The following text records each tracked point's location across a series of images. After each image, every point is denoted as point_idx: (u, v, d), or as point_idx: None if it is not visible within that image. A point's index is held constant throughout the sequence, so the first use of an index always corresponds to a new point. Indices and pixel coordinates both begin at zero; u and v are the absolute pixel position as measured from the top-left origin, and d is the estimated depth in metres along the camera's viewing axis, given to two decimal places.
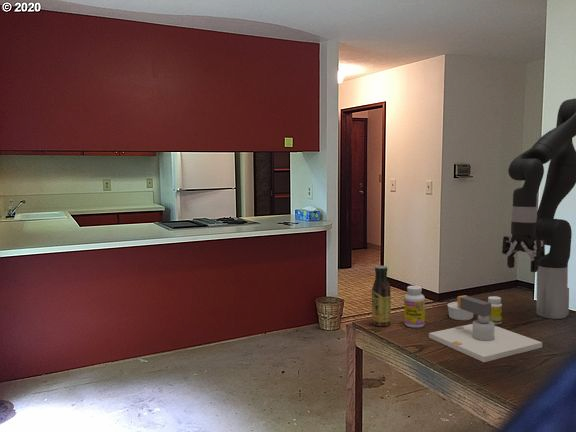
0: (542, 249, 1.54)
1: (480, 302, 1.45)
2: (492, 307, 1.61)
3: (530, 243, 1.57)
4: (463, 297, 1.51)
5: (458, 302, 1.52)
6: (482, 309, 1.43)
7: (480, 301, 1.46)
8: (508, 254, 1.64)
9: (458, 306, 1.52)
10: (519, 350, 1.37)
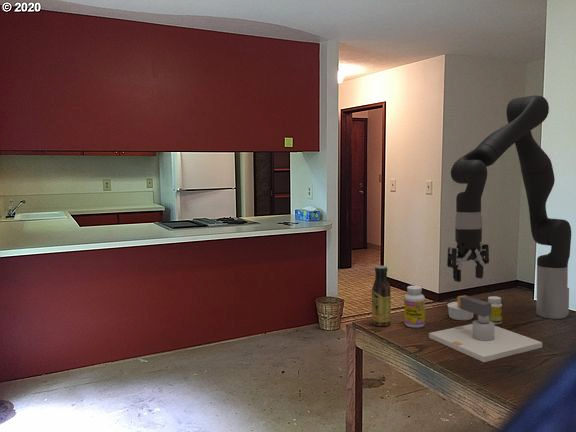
0: None
1: (480, 302, 1.45)
2: (492, 307, 1.61)
3: (479, 249, 1.49)
4: (463, 297, 1.51)
5: (458, 302, 1.52)
6: (482, 309, 1.43)
7: (480, 301, 1.46)
8: (459, 267, 1.46)
9: (458, 306, 1.52)
10: (519, 350, 1.37)
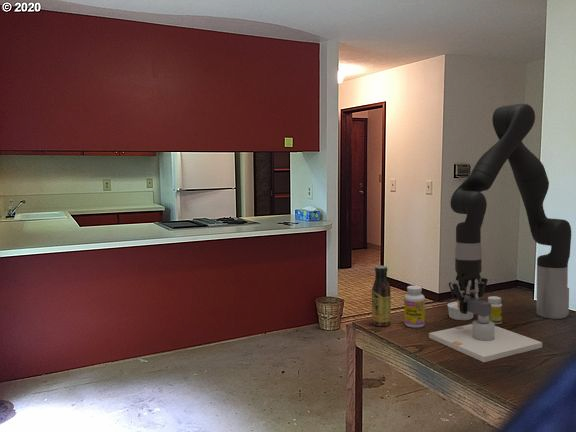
0: None
1: (480, 302, 1.45)
2: (492, 307, 1.61)
3: (479, 279, 1.50)
4: None
5: (458, 302, 1.52)
6: (482, 309, 1.43)
7: (480, 301, 1.46)
8: (466, 299, 1.48)
9: (458, 306, 1.52)
10: (519, 350, 1.37)
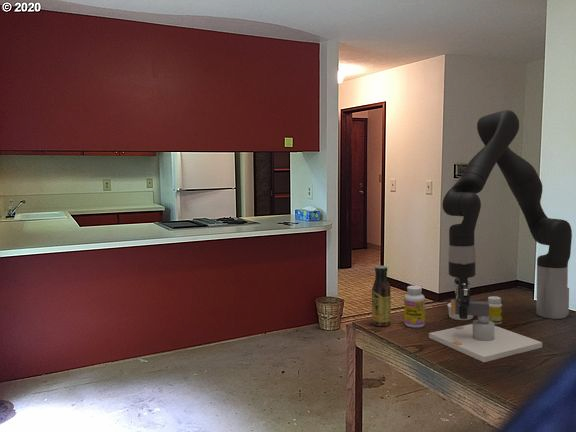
0: None
1: (481, 303, 1.44)
2: (492, 307, 1.61)
3: None
4: (456, 302, 1.47)
5: (452, 308, 1.46)
6: (488, 309, 1.43)
7: (477, 302, 1.46)
8: None
9: (452, 312, 1.47)
10: (519, 350, 1.37)
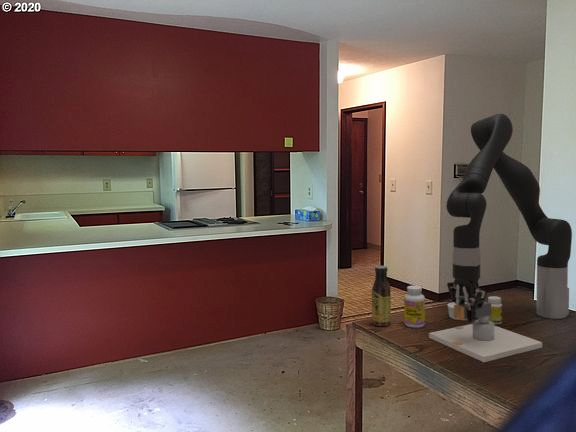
0: None
1: (483, 303, 1.44)
2: (492, 307, 1.61)
3: None
4: (463, 306, 1.42)
5: (462, 313, 1.41)
6: (490, 308, 1.44)
7: None
8: None
9: (461, 317, 1.41)
10: (519, 350, 1.37)
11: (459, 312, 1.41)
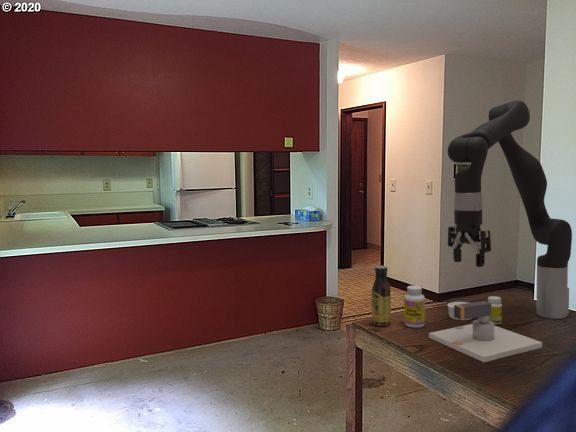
0: None
1: (483, 303, 1.44)
2: (492, 307, 1.61)
3: None
4: (463, 306, 1.42)
5: (462, 313, 1.41)
6: (490, 308, 1.44)
7: (478, 303, 1.45)
8: None
9: (462, 317, 1.41)
10: (519, 350, 1.37)
11: (459, 312, 1.41)
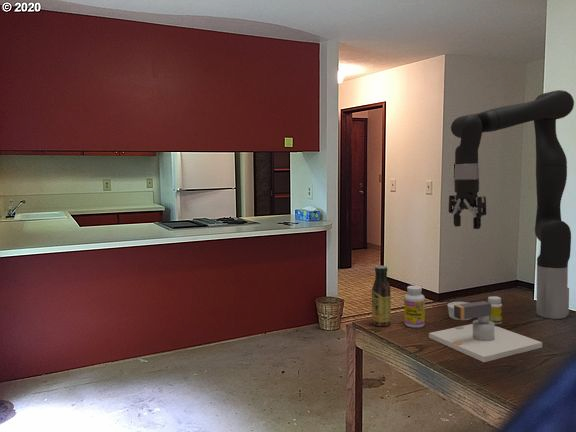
0: None
1: (483, 303, 1.44)
2: (492, 307, 1.61)
3: None
4: (463, 306, 1.42)
5: (462, 313, 1.41)
6: (490, 308, 1.44)
7: (478, 303, 1.45)
8: None
9: (462, 317, 1.41)
10: (519, 350, 1.37)
11: (459, 312, 1.41)
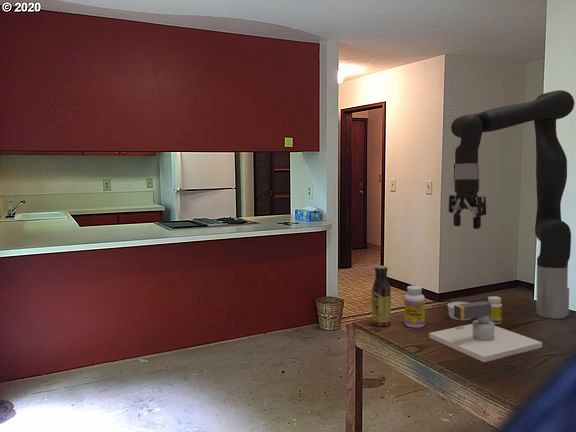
0: None
1: (483, 303, 1.44)
2: (492, 307, 1.61)
3: None
4: (463, 306, 1.42)
5: (462, 313, 1.41)
6: (490, 308, 1.44)
7: (478, 303, 1.45)
8: None
9: (462, 317, 1.41)
10: (519, 350, 1.37)
11: (459, 312, 1.41)
